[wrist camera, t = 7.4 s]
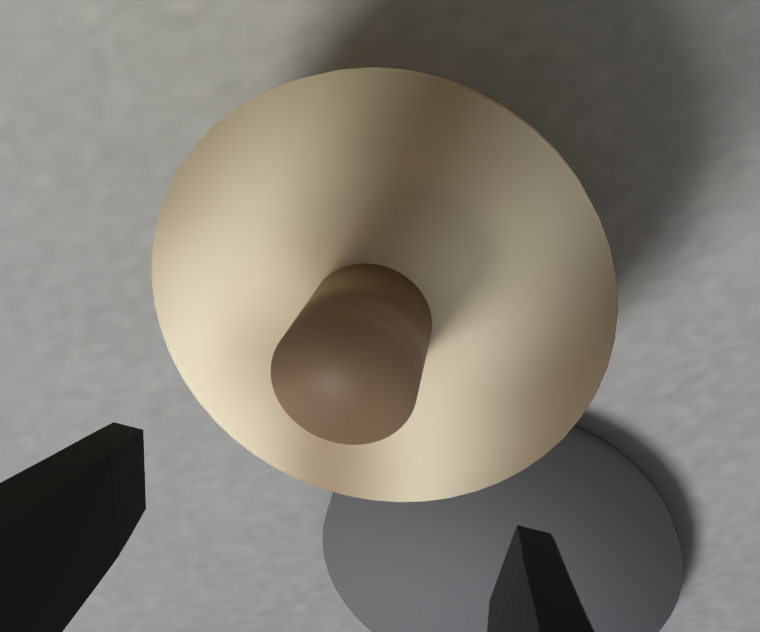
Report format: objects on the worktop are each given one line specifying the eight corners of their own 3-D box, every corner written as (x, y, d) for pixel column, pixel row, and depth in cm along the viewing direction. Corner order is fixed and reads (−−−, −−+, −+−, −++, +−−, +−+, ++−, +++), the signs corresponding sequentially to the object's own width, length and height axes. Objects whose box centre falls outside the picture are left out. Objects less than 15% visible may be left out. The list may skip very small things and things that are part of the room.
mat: (738, 460, 21) (749, 479, 20) (607, 694, 27) (611, 717, 26) (350, 370, 22) (344, 385, 21) (313, 614, 28) (307, 633, 27)
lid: (681, 109, 13) (751, 139, 9) (544, 516, 18) (555, 633, 15) (159, 33, 14) (44, 34, 10) (177, 434, 19) (105, 524, 16)
